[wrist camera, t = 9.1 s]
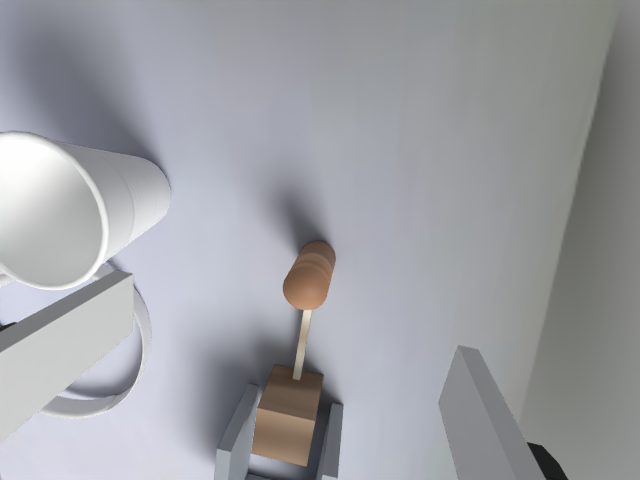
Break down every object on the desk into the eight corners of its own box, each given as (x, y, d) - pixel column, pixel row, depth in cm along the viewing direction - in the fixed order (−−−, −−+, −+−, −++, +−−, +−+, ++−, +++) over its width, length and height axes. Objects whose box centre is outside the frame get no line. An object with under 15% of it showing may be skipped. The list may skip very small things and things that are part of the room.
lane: (248, 383, 36) (216, 448, 28) (343, 405, 35) (337, 478, 28) (236, 477, 40) (206, 557, 32) (322, 498, 39) (311, 585, 31)
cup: (206, 234, 32) (129, 279, 22) (112, 250, 34) (-2, 300, 23) (174, 123, 30) (70, 113, 19) (75, 146, 31) (-72, 149, 21)
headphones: (-107, 403, 33) (110, 456, 35) (-109, 228, 27) (148, 306, 30) (-35, 354, 39) (142, 402, 42) (-25, 206, 34) (178, 271, 37)
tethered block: (293, 235, 31) (273, 262, 24) (348, 246, 31) (343, 275, 24) (269, 404, 36) (247, 463, 30) (315, 414, 36) (304, 477, 29)
